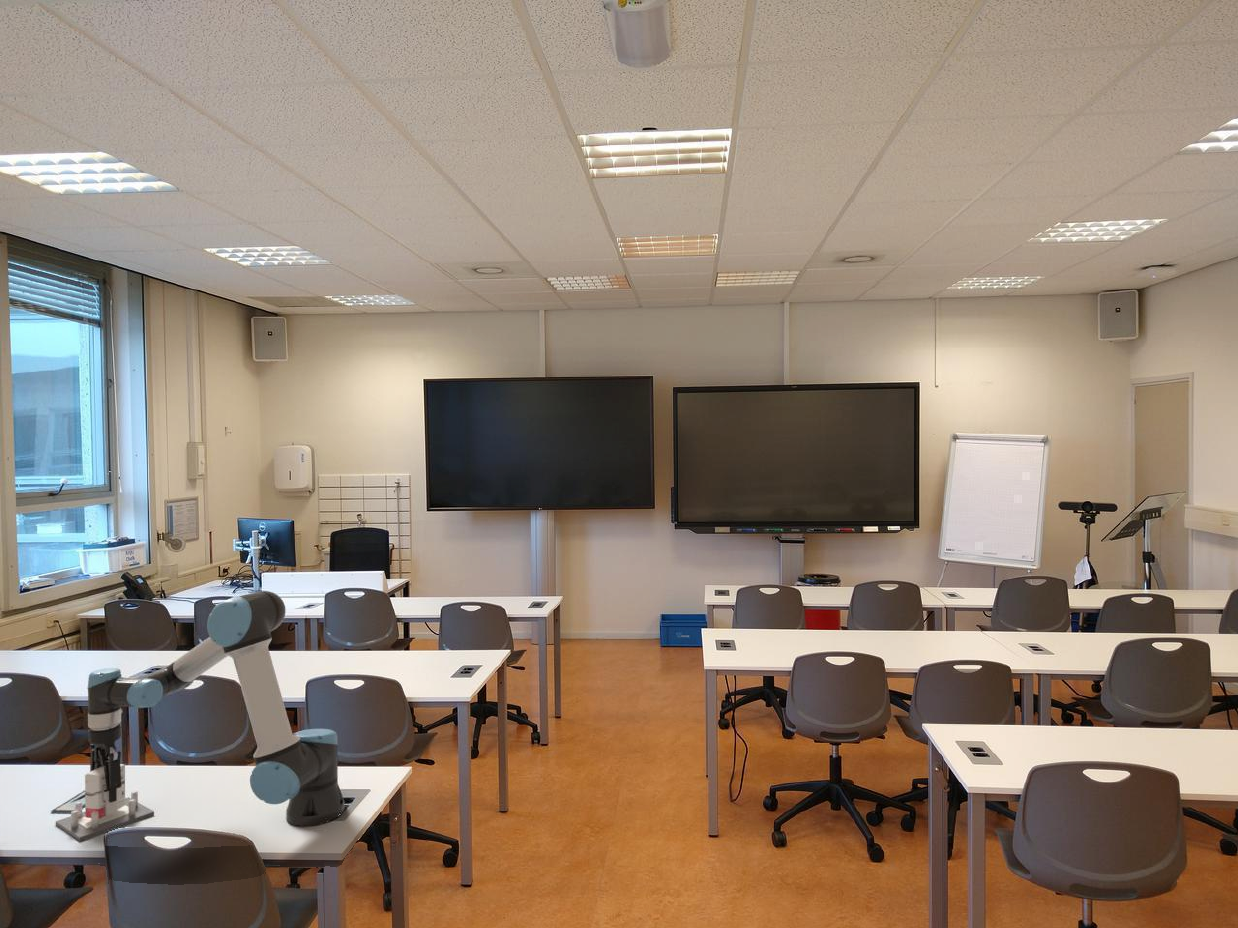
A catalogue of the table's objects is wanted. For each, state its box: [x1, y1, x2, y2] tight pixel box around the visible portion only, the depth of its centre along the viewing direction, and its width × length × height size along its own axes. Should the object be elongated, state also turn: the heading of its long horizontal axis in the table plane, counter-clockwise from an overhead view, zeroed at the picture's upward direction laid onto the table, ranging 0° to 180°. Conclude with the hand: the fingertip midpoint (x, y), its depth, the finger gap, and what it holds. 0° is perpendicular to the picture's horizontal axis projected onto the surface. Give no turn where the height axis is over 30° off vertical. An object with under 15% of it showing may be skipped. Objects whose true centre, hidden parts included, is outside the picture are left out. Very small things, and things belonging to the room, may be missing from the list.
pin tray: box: [55, 790, 155, 842], centre depth 210 cm, size 16×18×5 cm
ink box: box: [84, 763, 126, 819], centre depth 209 cm, size 9×5×12 cm, turn 167°
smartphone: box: [50, 789, 85, 814], centre depth 221 cm, size 7×1×15 cm
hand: (105, 809), depth 210 cm, fingers closed on ink box, 6 cm apart
